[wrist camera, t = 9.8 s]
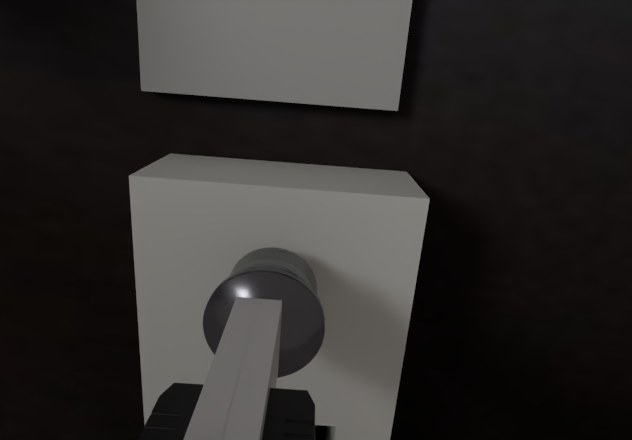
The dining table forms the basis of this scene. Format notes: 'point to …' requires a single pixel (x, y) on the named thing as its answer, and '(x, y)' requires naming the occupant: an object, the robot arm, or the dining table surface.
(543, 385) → the dining table surface
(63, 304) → the dining table surface
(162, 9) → the mat
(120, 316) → the dining table surface
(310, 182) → the housing
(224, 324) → the plunger
